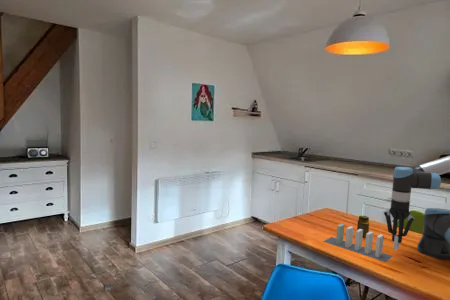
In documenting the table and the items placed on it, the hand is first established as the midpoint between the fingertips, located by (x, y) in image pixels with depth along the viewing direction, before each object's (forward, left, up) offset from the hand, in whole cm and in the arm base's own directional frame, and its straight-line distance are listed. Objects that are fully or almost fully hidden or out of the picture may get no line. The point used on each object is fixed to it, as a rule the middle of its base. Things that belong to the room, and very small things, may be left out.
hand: (396, 248), depth 146 cm
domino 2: (+22, 0, -6) cm, 23 cm away
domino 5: (+7, 0, -6) cm, 10 cm away
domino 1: (+27, 0, -6) cm, 28 cm away
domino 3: (+17, 0, -6) cm, 18 cm away
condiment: (+23, -19, -7) cm, 31 cm away
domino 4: (+12, 0, -6) cm, 14 cm away
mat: (+18, 0, -6) cm, 20 cm away
